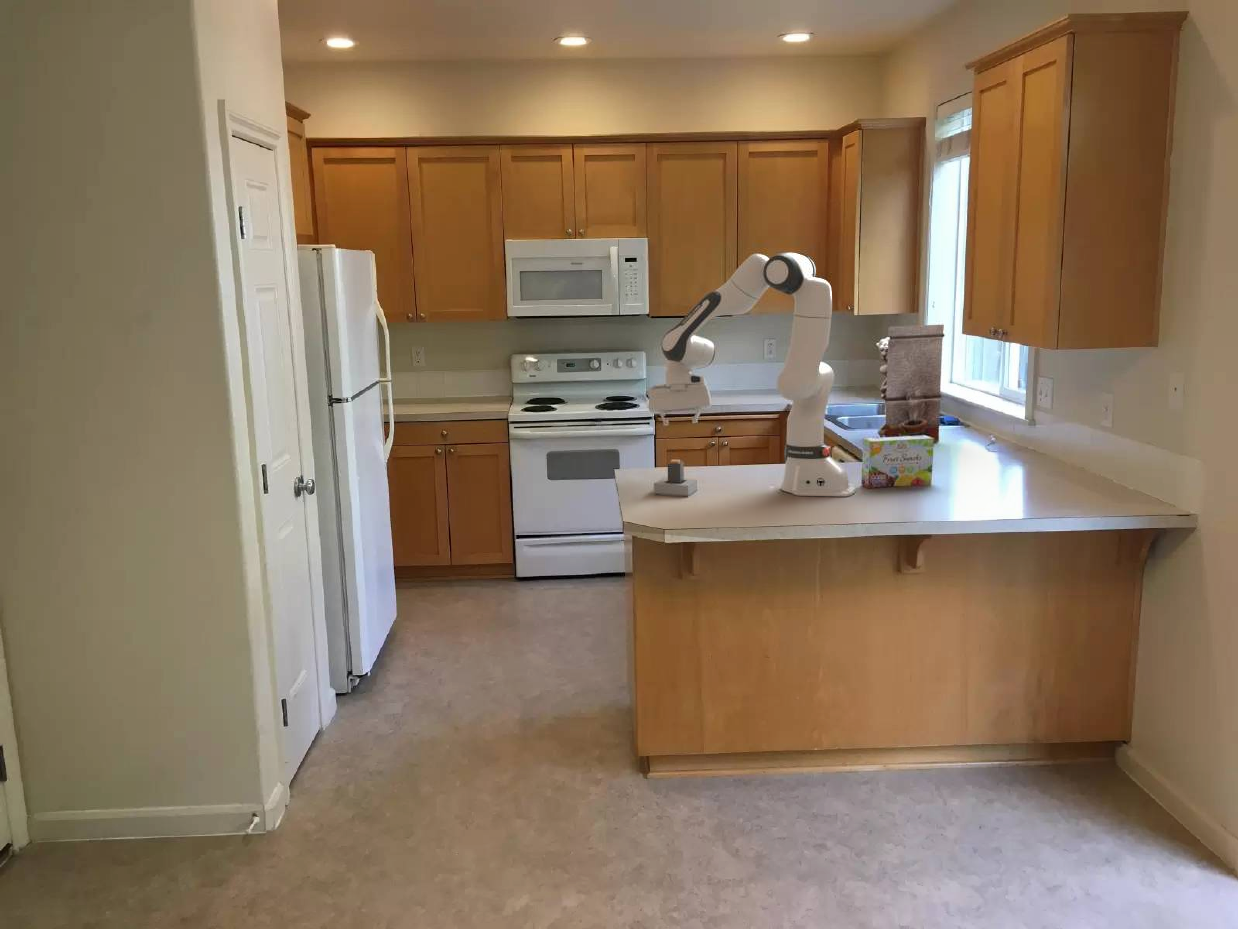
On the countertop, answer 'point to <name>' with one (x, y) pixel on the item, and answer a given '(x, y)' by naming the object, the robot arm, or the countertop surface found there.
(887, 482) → the snack box
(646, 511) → the countertop surface
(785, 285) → the robot arm
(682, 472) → the plug
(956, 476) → the countertop surface
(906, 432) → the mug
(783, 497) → the countertop surface
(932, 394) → the cherub statue
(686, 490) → the socket plate
